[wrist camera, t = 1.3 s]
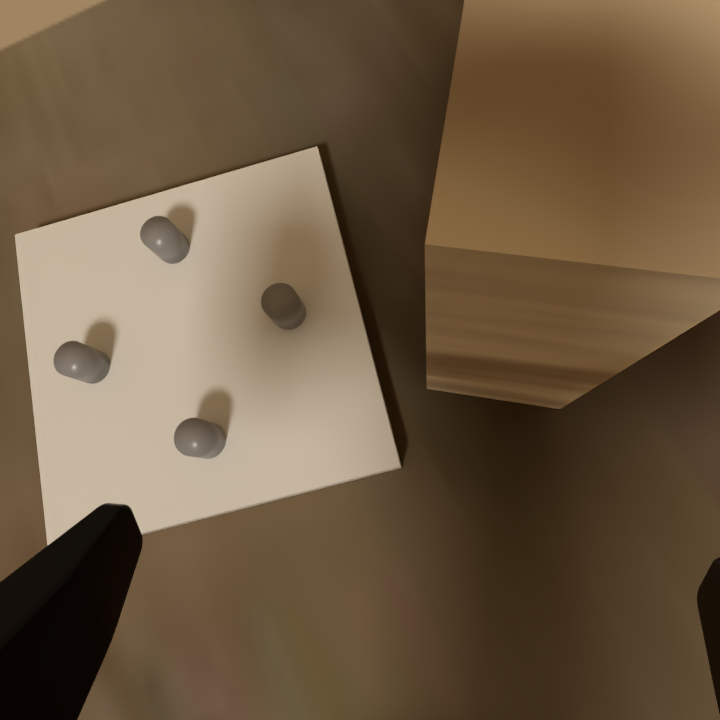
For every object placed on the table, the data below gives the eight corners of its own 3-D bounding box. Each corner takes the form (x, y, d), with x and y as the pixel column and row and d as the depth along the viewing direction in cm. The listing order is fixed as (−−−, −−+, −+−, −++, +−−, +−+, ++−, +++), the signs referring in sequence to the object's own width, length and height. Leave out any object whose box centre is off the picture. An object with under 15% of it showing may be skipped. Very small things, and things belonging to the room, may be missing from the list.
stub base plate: (402, 467, 23) (398, 464, 20) (67, 553, 23) (20, 562, 21) (322, 161, 26) (309, 123, 23) (32, 245, 27) (-12, 218, 24)
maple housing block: (559, 409, 22) (763, 283, 9) (426, 388, 23) (424, 244, 10) (572, 283, 23) (773, -3, 10) (445, 268, 24) (467, -17, 11)
